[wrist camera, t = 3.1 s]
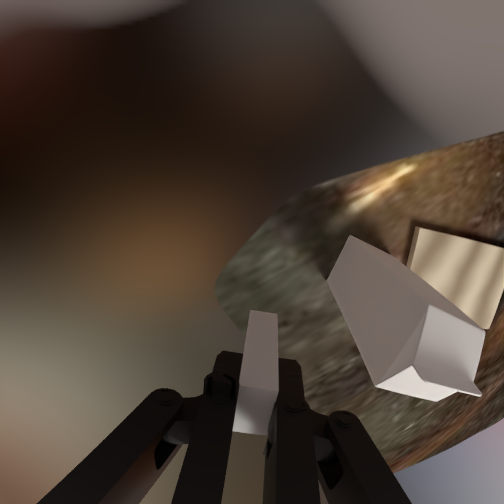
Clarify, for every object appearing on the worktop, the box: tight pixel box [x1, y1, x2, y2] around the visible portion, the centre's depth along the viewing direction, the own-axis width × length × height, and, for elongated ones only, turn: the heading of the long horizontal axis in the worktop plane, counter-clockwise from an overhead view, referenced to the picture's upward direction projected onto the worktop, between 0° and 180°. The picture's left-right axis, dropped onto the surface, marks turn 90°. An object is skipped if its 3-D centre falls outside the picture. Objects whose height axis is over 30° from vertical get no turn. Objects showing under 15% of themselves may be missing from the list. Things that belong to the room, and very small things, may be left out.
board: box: [406, 226, 504, 329], centre depth 32 cm, size 18×12×1 cm, turn 82°
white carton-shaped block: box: [327, 235, 485, 401], centre depth 23 cm, size 6×6×22 cm
